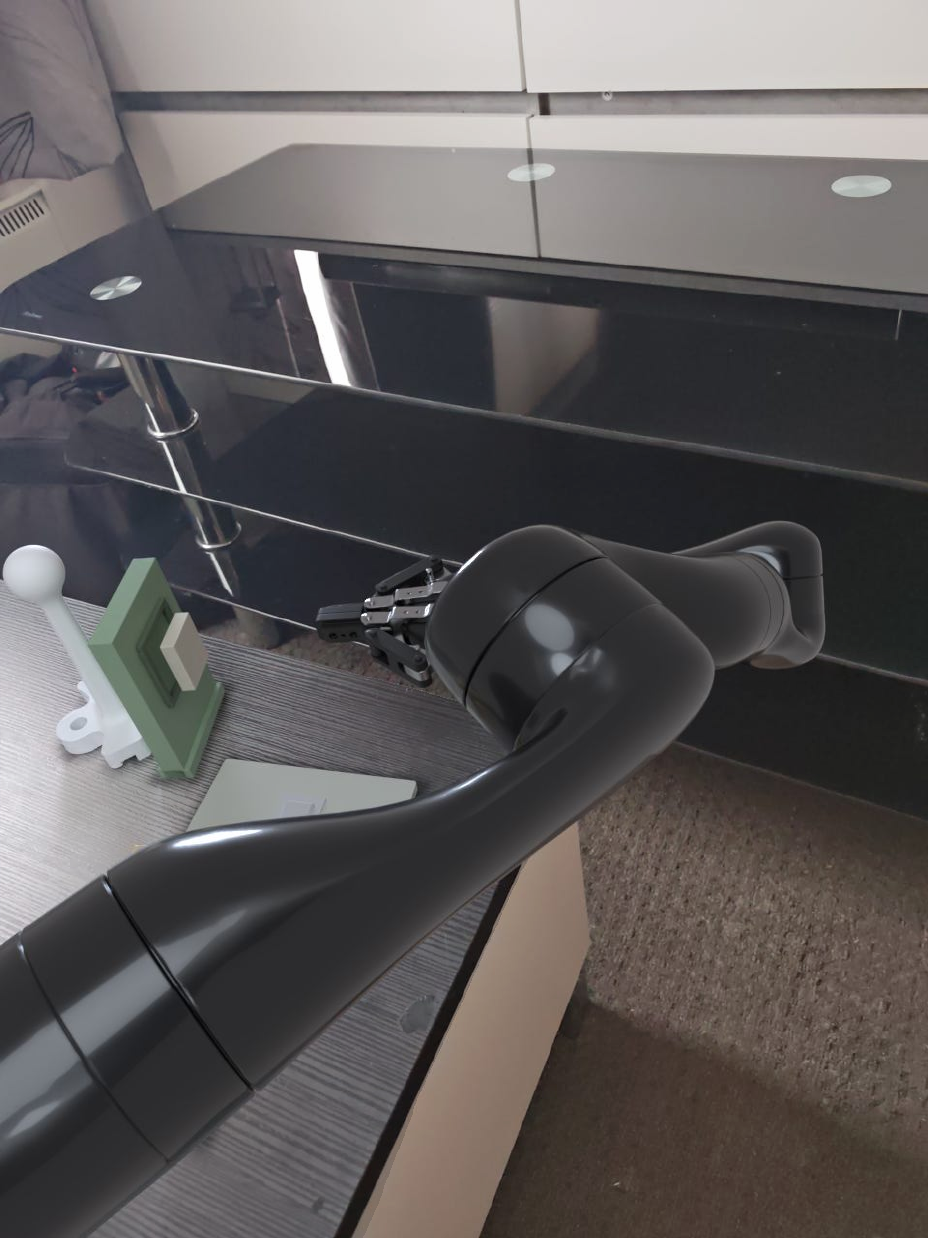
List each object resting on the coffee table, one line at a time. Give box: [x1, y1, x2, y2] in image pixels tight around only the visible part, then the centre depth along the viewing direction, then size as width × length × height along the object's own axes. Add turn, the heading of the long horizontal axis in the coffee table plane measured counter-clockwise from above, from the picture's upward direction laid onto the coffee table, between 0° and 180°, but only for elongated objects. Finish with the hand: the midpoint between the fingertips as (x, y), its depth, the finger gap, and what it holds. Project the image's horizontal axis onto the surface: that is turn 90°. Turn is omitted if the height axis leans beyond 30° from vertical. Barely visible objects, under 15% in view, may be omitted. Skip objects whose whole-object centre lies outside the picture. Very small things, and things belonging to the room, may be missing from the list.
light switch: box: [185, 758, 419, 832], centre depth 72 cm, size 17×1×10 cm
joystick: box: [2, 544, 152, 769], centre depth 77 cm, size 11×8×20 cm
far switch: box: [160, 612, 210, 691], centre depth 74 cm, size 1×4×5 cm, turn 176°
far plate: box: [87, 557, 226, 780], centre depth 76 cm, size 3×10×16 cm, turn 176°
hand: (318, 625), depth 71 cm, fingers closed
